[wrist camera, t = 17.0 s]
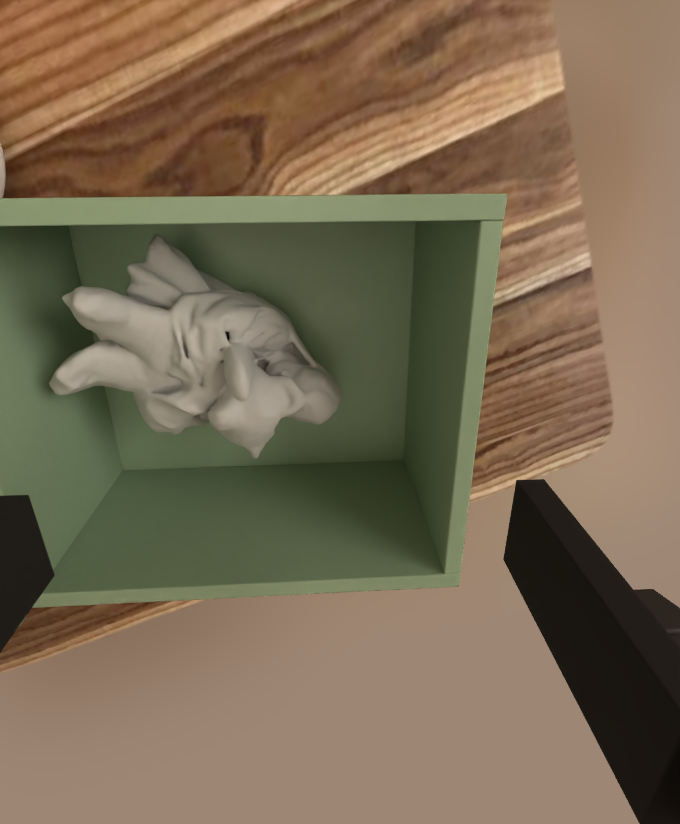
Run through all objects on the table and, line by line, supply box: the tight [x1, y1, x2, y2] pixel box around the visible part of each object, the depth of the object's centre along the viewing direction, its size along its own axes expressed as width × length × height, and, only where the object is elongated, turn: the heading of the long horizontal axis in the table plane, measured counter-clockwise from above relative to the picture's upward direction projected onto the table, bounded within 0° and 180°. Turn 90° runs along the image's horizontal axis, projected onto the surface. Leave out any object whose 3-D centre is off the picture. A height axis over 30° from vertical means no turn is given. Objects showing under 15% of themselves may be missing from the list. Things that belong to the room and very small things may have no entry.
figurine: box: [49, 235, 341, 458], centre depth 24 cm, size 8×10×12 cm
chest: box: [0, 193, 507, 608], centre depth 23 cm, size 20×17×11 cm
